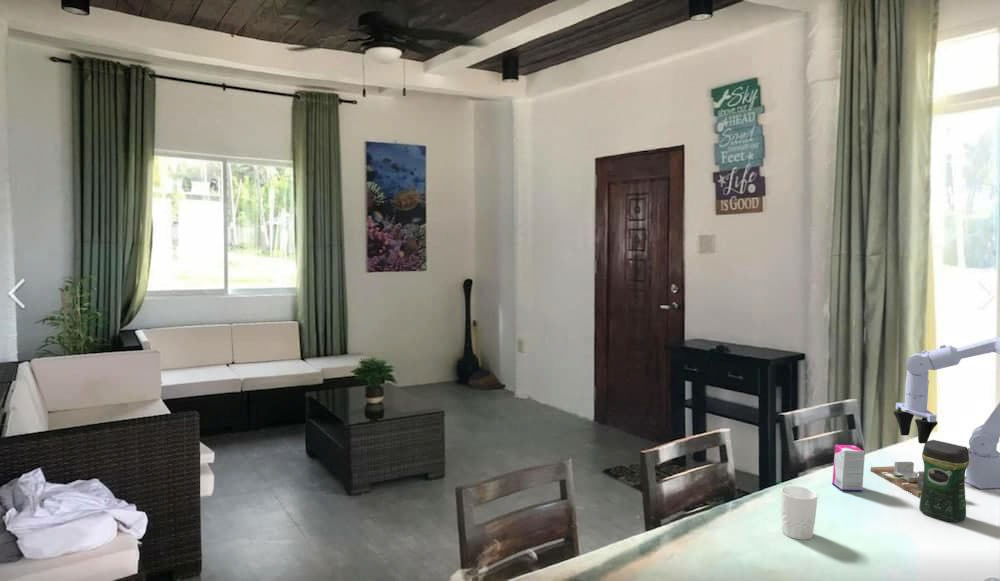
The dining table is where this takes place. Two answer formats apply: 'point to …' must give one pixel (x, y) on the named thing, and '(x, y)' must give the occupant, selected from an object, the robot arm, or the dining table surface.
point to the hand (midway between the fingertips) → (913, 439)
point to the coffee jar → (944, 480)
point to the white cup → (798, 512)
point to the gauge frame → (900, 479)
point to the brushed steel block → (905, 471)
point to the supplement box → (848, 468)
